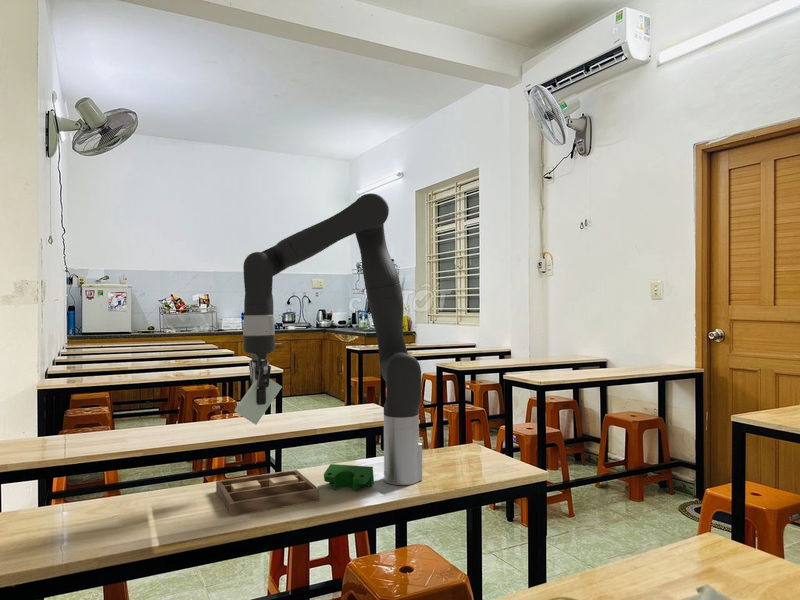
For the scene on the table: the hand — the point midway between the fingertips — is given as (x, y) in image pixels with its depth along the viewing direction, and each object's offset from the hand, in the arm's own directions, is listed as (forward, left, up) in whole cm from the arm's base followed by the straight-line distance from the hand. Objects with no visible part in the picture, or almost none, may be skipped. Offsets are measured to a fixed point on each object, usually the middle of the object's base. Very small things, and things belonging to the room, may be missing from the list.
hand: (259, 403), depth 138 cm
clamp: (-19, +10, -22) cm, 31 cm away
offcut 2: (-4, +5, -21) cm, 22 cm away
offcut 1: (+5, +5, -21) cm, 22 cm away
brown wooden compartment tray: (0, +6, -22) cm, 23 cm away
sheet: (+4, 0, -3) cm, 5 cm away
